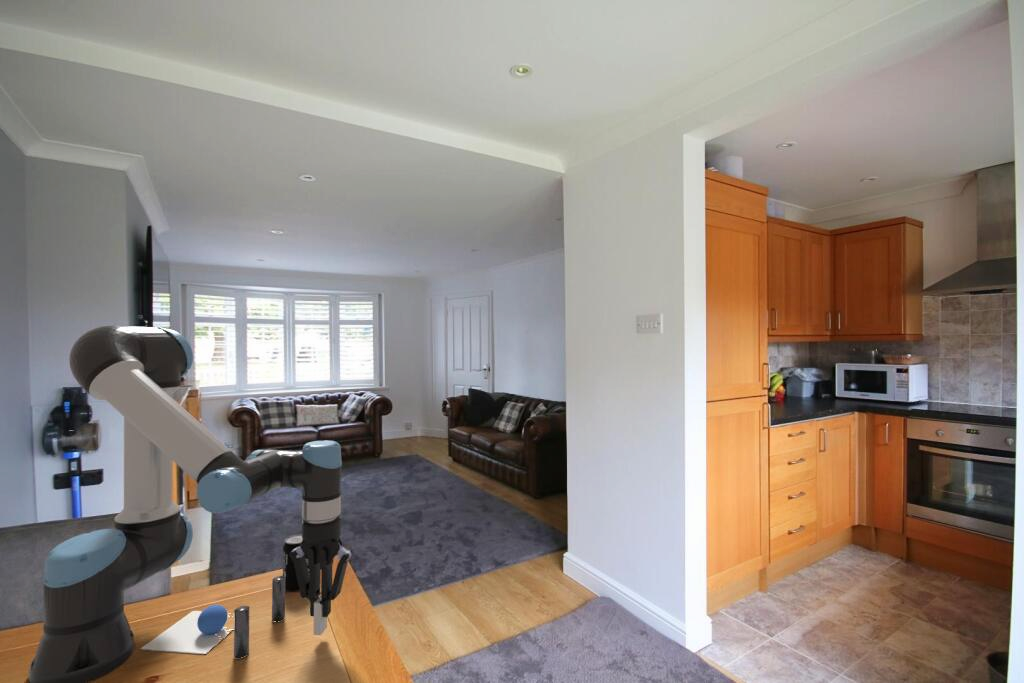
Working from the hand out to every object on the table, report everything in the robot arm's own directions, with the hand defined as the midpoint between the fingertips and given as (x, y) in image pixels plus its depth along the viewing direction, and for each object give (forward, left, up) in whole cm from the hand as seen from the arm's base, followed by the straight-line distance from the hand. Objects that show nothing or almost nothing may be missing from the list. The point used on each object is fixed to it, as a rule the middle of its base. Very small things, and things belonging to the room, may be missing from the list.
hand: (320, 631), depth 101 cm
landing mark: (-27, 0, -2) cm, 27 cm away
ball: (-24, 0, +1) cm, 24 cm away
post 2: (-13, +6, -2) cm, 15 cm away
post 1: (-13, -6, -2) cm, 15 cm away
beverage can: (-17, +21, -2) cm, 27 cm away
